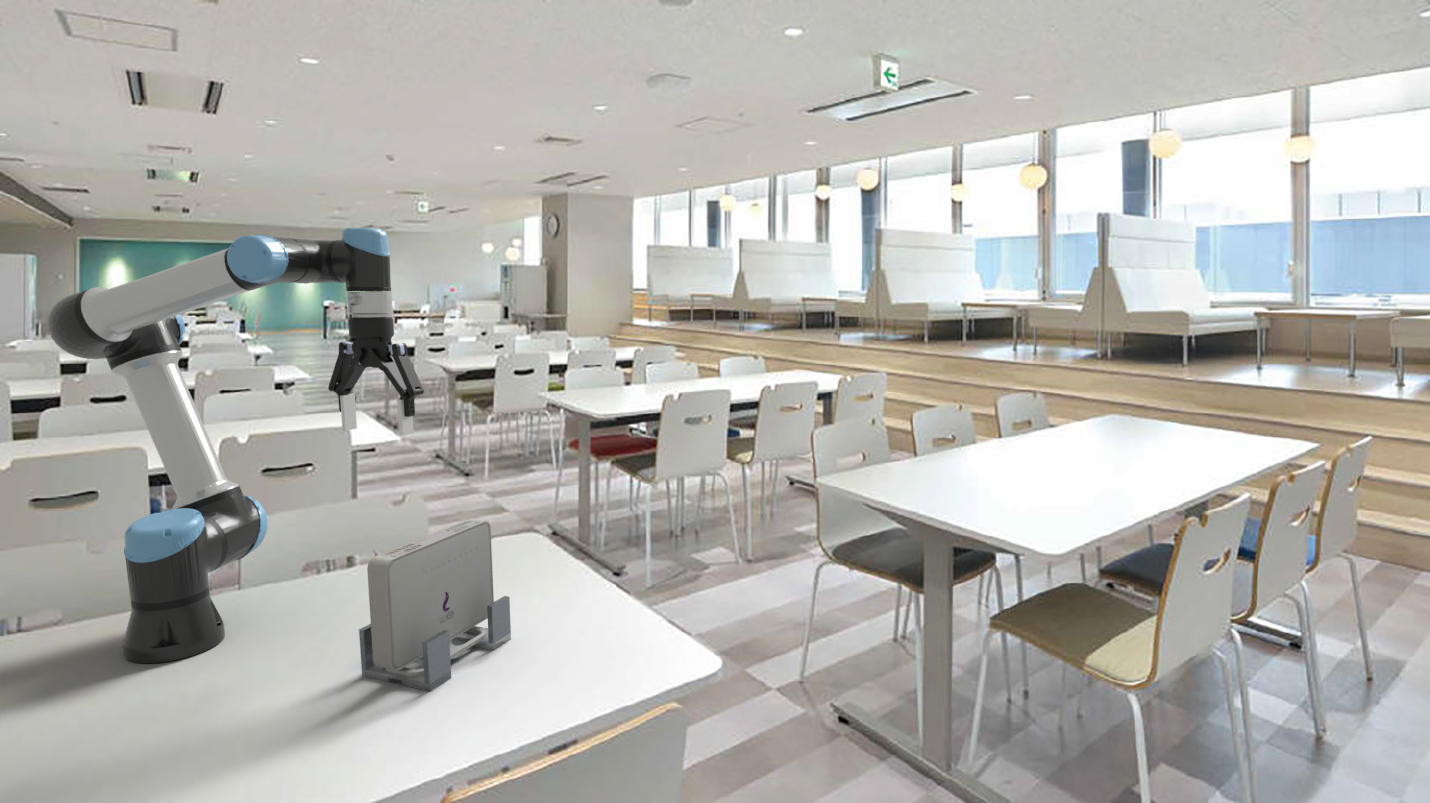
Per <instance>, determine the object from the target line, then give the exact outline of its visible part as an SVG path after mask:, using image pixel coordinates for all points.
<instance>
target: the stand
mask: <svg viewBox="0 0 1430 803" xmlns="http://www.w3.org/2000/svg"><path fill="white" fill-rule="evenodd" d="M487 614H488V619H487V627H482V626H480V627H481V628H484V629H485V630H486V631H487V636H486V637H485V638H484V639H483V640H481V641H480V642H478V643H476V644H475V645H473V646H472V647H475V648H480V649H485V650H486V649H487V650H491V651H496V649H498V648H500V647H502V646H503V645H504V644H505V643H507V642H509V641H510V640H512V633H511V632H512V630H511V629H512V628H511V602H510V596H507V595H504V596H502V597H500V598H499V599H497V600H494V602H493V603H491V604H489V605H488V606H487ZM476 627H479V626H477V625H476ZM478 635H480V634H478V633H473V632H468V631H465V632H464V633H462V634H460V635H459V636H457V637H455V638H453V639H452V643H453V644H454V645H455V646H458V645H463V644H465V643H466V642H468V641H470V640H471V639H473V638H475V637H476V636H478ZM358 636H359V637H358V638H359V647H360V649H359V650H360V664H361V677H365V678H370V679H374V680H378V681H382V682H387V683H390V684H391V683H392V684H396V685H400V686H403V687H404V686H405V687H409V688H413V689H417V690H421V691H427V692H431V691H433V690H434V689H437V688H438V687H439V686H441V685H442V684H444V683H446V681H448V680H450V679H452V666H451V665H452V664H451V663H452V662H451V659H450V641H449V631H447V630H443V631H441V632H440V633H438V634H436V635H434V636H433V637H431V638H429V639H427V640H425V641H424V642H422V647H423V657H421V658H419V659H418V660H416V661H414V662H412V663H411V664H409V665H407V666H406V668H410V669H423V668H424V674H423V675H418V676H406V675H401V674H397V673H392V672H389V671H387V670H386V669H385V668H381V667H377V666H375V665H374V663H373V650H372V635H371V623H369V624H367V625H366V626H363V627H361V628H359V629H358Z"/></svg>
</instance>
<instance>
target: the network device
mask: <svg viewBox="0 0 1430 803" xmlns="http://www.w3.org/2000/svg"><path fill="white" fill-rule="evenodd" d="M491 530H492V529H491V524H490V522H489V521H485V520H478V519H470V518H469V519H465V520H462V521H460V522H458V523H456V524H453V525H451V526H447V527H445V528H442V529H440V530H438V531H436V532H433V533H431V534H427V535H425V536H423V537H421V538H418V539H415V540H413V541H412V540H411V541H410V542H408V543H405V544H403V545H401V546H397V547H395V548H393V549H391V550H388V551H387V550H386V551H385V552H383V553H380V554H377V555H375V556H373V557H372V558H371V559H370V560H369V562H368V565H367V568H366V569H367V585H368V598H369V599H368V600H369V601H368V602H369V616H370V624H371V635H372V650H373V663H374V665H375V666H377V667H381V668H385V669H386V670H387V671H389V672H392V673H397V674H401V675H406V676H418V675H423V674H424V668H423V669H410V668H406V666H407V665H409V664H411V663H412V662H415V661H416V660H418V659H420V658H422V657H423V647H422V642H424V641H425V640H427V639H429V638H431V637H433V636H434V635H436V634H438V633H440V632H441V631H443V630H447V631H449V641H450V660H452V659H453V658H455V657H457V656H459V655H460V654H461V653H463V652H465V651H466V650H468V649H470V648H471V647H474V646H473V645H475V644H476V643H478V642H480V641H481V640H483V639H484V638H485V637H486V636H487V631H486V630H485V629H484V628H485V627H483V628H481V627H482V626H478V627H476V626H477V625H479V624H481V623H482V622H484V621H486V620H488V614H487V606H488V605H489V604H491V603H493V602H495V600H494V577H493V576H494V574H493V555H492V554H493V552H492V550H493V549H492V531H491ZM465 631H468V632H473V633H478V634H480V635H478V636H476V637H475V638H473V639H471V640H470V641H468V642H466V643H465V644H463V645H458V646H455V645H454V644H453V643H452V639H453V638H455V637H457V636H459V635H460V634H462V633H464V632H465Z"/></svg>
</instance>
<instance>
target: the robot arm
mask: <svg viewBox="0 0 1430 803" xmlns="http://www.w3.org/2000/svg"><path fill="white" fill-rule="evenodd" d="M389 246H390V244H389V238H388V234H387V232H386V231H385V230H384V229H382V228H381V229H380V228H372V227H352V228H350V227H348V228H345V229H344V230H342V237H341V239H339V240H338V239H337V240H325V239H324V240H321V239H320V240H318V239H317V240H313V239H301V238H289V237H279V236H271V235H266V234H253V235H249V234H248V235H242V236H239V237H237V238H236V239H235V240H234V241H233V242H232V243H231V245H229V248H226V249H222V250H218V251H217V252H213V253H211V254H207V255H203V256H201V257H199V258H197V259H193V260H190V261H187V262H185V263H181V264H179V265H175V266H172V267H170V268H167V269H164V270H160V271H158V272H155V273H152V274H150V275H146V276H143V277H141V278H138V279H134V280H132V281H128V282H126V283H124V284H120V285H118V286H114V287H111V288H106V287H101V286H97V287H91V288H88V289H85V290H83V291H80V292H77V293H73V294H71V295H68V296H65V297H63V298H62V299H60V300H59V301H57V302H56V303H55V304H54V305H53V306H52V308H51V309H50V312H49V314H48V317H47V318H48V319H47V328H48V333H49V336H50V338H51V339H52V341H53V342H54V343H55V344H56V346H58V347H59V348H60V349H61V350H63V351H64V352H66V353H67V354H69V355H72V356H74V357H77V358H81V359H87V360H100V359H106V361H107V363H108V366H109V368H110V369H111V372H112V373H113V374H114V375H117V376H120V377H122V378H124V379H125V381H126V382H127V385H128V387H129V389H130V392H131V393H132V395H133V398H134V401H135V402H136V406H137V407H138V409H139V412H140V415H141V417H142V419H143V422H144V424H145V426H146V428H147V430H148V432H149V435H150V438H151V439H152V443H153V444H154V446H155V449H156V452H157V453H158V456H159V458H160V460H161V463H162V465H163V468H164V470H165V472H166V475H167V476H168V478H169V481H170V484H171V485H172V488H173V491H174V492H175V494H176V500H175V502H174V503H173V506H172V508H171V509H166V510H163V511H161V512H154V513H152V514H147V515H145V516H143V517H141V518H139V519H136V520H135V521H134V522H132V523H131V524H130V525H128V527H127V528H126V530H125V533H124V548H123V553H124V557H125V563H126V573H127V581H128V589H129V598H130V605H131V606H130V608H131V611H130V615H129V619H128V623H127V626H126V630H125V633H124V634H125V635H124V638H123V641H122V651H123V652H122V653H123V656H124V659H125V660H127V661H129V662H131V663H136V664H138V663H139V664H157V663H165V662H172V661H175V660H177V661H178V660H181V659H185V658H189V657H192V656H196V655H198V654H200V653H203V652H206V651H208V650H210V649H212V648H214V647H216V646H217V645H219V644H220V643H221V642H222V641H223V640H224V639H225V636H226V632H225V623H224V621H223V619H222V616H221V615H220V613H219V611H218V609H217V607H216V605H215V603H214V601H213V599H212V597H211V593H210V583H209V581H210V579H209V573H212V572H213V571H216V570H218V569H220V568H222V567H224V566H226V565H229V564H230V563H233V562H235V561H238V560H241V559H243V558H245V557H247V556H248V555H249V554H250V553H252V552H254V551H256V550H257V549H258V548H259V547H260V546H261V544H262V543H263V542H264V539H265V537H266V535H267V532H268V522H269V521H268V516H267V513H266V510H265V508H264V507H263V505H262V504H261V503H260V501H259V500H257V499H253V497H252V496H249V495H244V492H243V491H242V489H241V488H242V487H241V486H240V484H238V483H236V482H233V481H231V480H229V479H228V478H227V476H226V474H225V471H224V470H223V467H222V464H221V463H220V460H219V457H218V455H217V453H216V450H215V448H214V445H213V444H212V441H211V439H210V436H209V434H208V432H207V430H206V427H205V425H204V423H203V420H202V418H201V416H200V413H199V411H198V409H197V407H196V404H195V402H194V400H193V396H192V395H191V393H190V391H189V388H188V386H187V384H186V381H185V378H184V376H183V374H182V371H181V368H180V367H179V361H180V360H181V357H182V356H183V351H182V348H181V346H180V345H181V344H182V342H183V341H184V336H183V334H185V333H186V325H185V322H184V319H183V316H182V315H183V314H185V313H189V312H191V311H194V310H196V309H197V310H198V309H200V308H203V307H206V306H209V305H212V304H214V303H218V302H220V301H225V300H227V299H229V298H232V297H236V296H238V295H242V294H244V293H247V292H251V291H255V290H257V289H260V288H264V287H267V286H269V285H272V284H278V283H296V284H304V285H305V284H311V283H312V284H313V283H315V284H317V283H319V284H321V283H322V284H323V283H324V284H325V283H328V284H329V283H339V284H340V283H345V289H346V304H347V313H348V314H349V315H351V316H350V317H349V319H347V320H348V323H347V324H348V336H349V338H351V339H352V341H351V340H350V341H341V342H339V344H338V355H337V358H336V362H335V365H334V367H333V371H332V374H331V378H330V381H329V383H328V387H327V388H328V390H329V391H330V392H334V393H335V394H336V395H337V398H338V400H337V401H338V410H339V412H340V414H341V415H340V416H341V429H342V431H343V432H347V431H351V430H356V429H357V428H358V425H357V422H358V421H357V410H356V396H355V395H356V394H354V391H353V389H354V388H355V386H356V385H357V383H358V381H359V379H360V378H361V376H362V374H363V373H364V371H365V370H366V369H367V368H373V369H377V368H378V370H380V371H383V373H384V375H385V376H386V377H387V379H388V380H389V382H390V383H391V385H392V386H393V388H394V389H395V390H396V391H397V393H398V395H399V396H400V397H398V399H397V411H398V413H397V414H398V415H397V416H398V428H399V436H400V437H401V436H407V435H412V434H414V433H415V430H414V416H415V415H416V407H415V405H416V403H415V398H416V397H418V396H421V395H423V394H424V392H425V391H424V388H423V385H422V384H421V380H420V378H419V377H418V374H417V373H416V372H417V371H416V369H415V368H414V365H413V363H412V360H411V359H410V358H411V357H410V356H409V352H408V345H407V343H405V342H398V343H393V342H392V338H393V337H394V336H395V326H394V325H395V324H394V318H392V316H390V315H391V314H393V311H394V310H393V309H394V308H393V295H392V286H391V285H392V283H391V280H392V279H391V259H390V258H391V252H390V247H389Z"/></svg>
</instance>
